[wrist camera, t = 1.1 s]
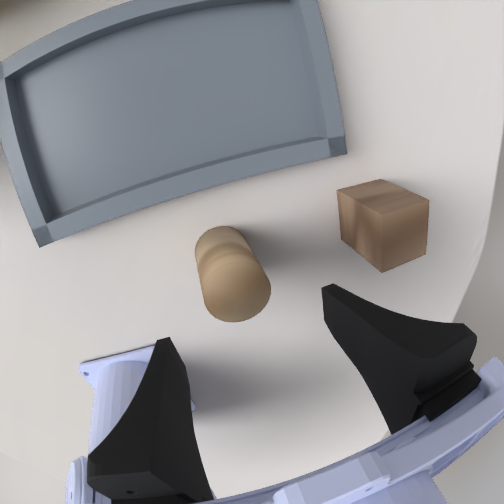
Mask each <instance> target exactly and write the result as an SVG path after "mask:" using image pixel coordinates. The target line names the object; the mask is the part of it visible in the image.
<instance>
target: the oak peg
mask: <svg viewBox="0 0 504 504" xmlns="http://www.w3.org/2000/svg"><path fill="white" fill-rule="evenodd" d="M195 257H196V262H197V268H198V273H199V278H200V283H201V288H202V293H203V298H204V303H205V306H206V308H207V310H208V311H209V312H210V314H211V315H213V316H214V317H215V318H217V319H219V320H222V321H225V322H241V321H245V320H248V319H250V318H252V317H254V316H256V315H257V314H258V313H260V312H261V311H262V310H263V308H264V307H265V306H266V304H267V303H268V301H269V298H270V294H271V285H270V282H269V279H268V277H267V276H266V274H265V272H264V271H263V269H262V267H261V266H260V264H259V262H258V260H257V259H256V257H255V255H254V254H253V252H252V250H251V248H250V247H249V245H248V243H247V242H246V240H245V238H244V237H243V235H242V234H241V233H240V232H239V231H237V230H236V229H234V228H231V227H226V226H220V227H215V228H212V229H210V230H208V231H206V232H205V233H204V234H203V235H202V236H201V237H200V238H199V240H198V242H197V244H196V248H195Z"/></svg>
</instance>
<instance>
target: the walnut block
mask: <svg viewBox="0 0 504 504" xmlns="http://www.w3.org/2000/svg"><path fill="white" fill-rule="evenodd" d="M337 198H338V208H339V219H340V230H341V240H343V241H344V242H345V243H346V244H348V245H349V246H350V247H351V248H353V249H354V250H355V251H356V252H357V253H359V254H360V255H361V256H362V257H363V258H365V259H366V260H367V261H368V262H369V263H371V264H372V265H373V266H374V267H375V268H377V269H378V270H379V271H380V272H381V273H383V272H385V271H388V270H390V269H393V268H395V267H397V266H400V265H402V264H404V263H407V262H409V261H411V260H414V259H416V258H418V257H421V256H423V255H425V254H426V246H427V233H428V214H429V200H428V199H426V198H423V197H421V196H419V195H417V194H414V193H412V192H410V191H408V190H405V189H403V188H401V187H398V186H396V185H393V184H391V183H389V182H386V181H384V180H381V179H379V180H375V181H371V182H367V183H363V184H359V185H355V186H351V187H347V188H343V189H339V190H337Z"/></svg>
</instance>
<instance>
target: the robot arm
mask: <svg viewBox="0 0 504 504" xmlns="http://www.w3.org/2000/svg"><path fill="white" fill-rule="evenodd" d="M322 299H323V311H324V321H325V323H326V324H327V326H328V328H329V330H330V332H331V333H332V335H333V337H334V338H335V340H336V341H337V342H338V344H339V345H340V346H341V348H342V349H343V350H344V352H345V353H346V354H347V356H348V357H349V358H350V360H351V361H352V362H353V364H354V365H355V366H356V368H357V369H358V371H359V372H360V374H361V375H362V377H363V379H364V380H365V382H366V384H367V386H368V387H369V389H370V391H371V393H372V395H373V397H374V399H375V400H376V402H377V404H378V406H379V408H380V410H381V412H382V415H383V417H384V419H385V421H386V423H387V425H388V428H389V430H390V432H391V434H392V435H391V436H389V437H387V438H385V439H383V440H382V441H380V442H378V443H376V444H374V445H372V446H370V447H368V448H366V449H364V450H362V451H360V452H358V453H356V454H354V455H351V456H349V457H347V458H345V459H343V460H340V461H338V462H336V463H333V464H331V465H328V466H326V467H324V468H321V469H319V470H316V471H313V472H311V473H308V474H305V475H303V476H300V477H297V478H294V479H291V480H288V481H285V482H282V483H279V484H276V485H272V486H269V487H266V488H262V489H258V490H255V491H251V492H247V493H243V494H239V495H235V496H230V497H226V498H221V499H217V498H216V496H215V495H214V493H213V491H212V490H211V488H210V486H209V483H208V480H207V477H206V474H205V471H204V468H203V464H202V461H201V457H200V453H199V450H198V446H197V442H196V437H195V433H194V427H193V419H192V411H194V410H195V405H194V403H193V402H192V400H191V398H190V387H189V381H188V377H187V372H186V367H185V365H184V363H183V361H182V359H181V358H180V356H179V354H178V352H177V350H176V348H175V346H174V344H173V343H172V341H171V339H170V337H167V338H164V339H160V340H157V342H156V344H155V346H150V347H146V348H142V349H139V350H135V351H131V352H127V353H123V354H119V355H115V356H111V357H107V358H102V359H98V360H94V361H90V362H85V363H81V364H79V366H78V370H79V371H80V373H81V374H82V375H83V376H84V378H85V379H86V380H87V381H88V383H89V384H90V385H91V386H92V387H93V389H94V390H95V394H94V402H93V410H92V418H91V428H90V439H89V453H88V458H87V457H84V456H80V457H79V458H78V459H76V460H74V461H73V462H72V463H71V465H70V468H69V472H68V477H67V485H66V494H65V504H448V502H447V501H446V499H445V498H444V496H443V495H442V493H441V491H440V490H439V488H438V487H437V485H436V484H435V482H434V481H433V479H432V478H433V477H434V476H436V475H437V474H438V473H440V472H441V471H442V470H444V469H445V468H446V467H448V466H449V465H450V464H452V463H453V462H454V461H455V460H457V459H458V458H459V457H460V456H462V455H463V454H464V453H465V452H466V451H468V450H469V449H470V448H471V447H472V446H473V445H474V444H475V443H477V442H478V441H479V440H480V439H481V438H482V437H483V436H485V434H487V433H488V432H489V431H490V430H491V429H492V428H493V427H494V426H495V425H496V424H497V423H498V422H499V421H500V420H501V419H503V418H504V364H502V362H501V361H500V360H499V359H497V358H496V356H494V357H492V358H491V359H490V360H489V361H488V362H486V363H485V364H484V365H483V366H482V367H481V368H480V369H479V370H478V371H477V372H476V373H475V372H474V370H473V367H474V365H473V364H472V363H471V362H470V359H471V356H472V354H473V351H474V349H475V346H476V343H477V336H476V334H475V333H473V332H472V331H471V330H470V329H469V328H468V327H467V326H465V324H463V323H443V322H434V321H428V320H422V319H418V318H413V317H409V316H406V315H402V314H399V313H396V312H393V311H390V310H387V309H385V308H382V307H380V306H378V305H375V304H373V303H371V302H369V301H367V300H364V299H362V298H360V297H358V296H356V295H354V294H353V293H351V292H349V291H347V290H345V289H343V288H341V287H339V286H337V285H335V284H330V285H328V286H325V287H322ZM87 372H88V373H87Z"/></svg>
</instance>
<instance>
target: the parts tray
mask: <svg viewBox="0 0 504 504" xmlns="http://www.w3.org/2000/svg"><path fill="white" fill-rule="evenodd" d="M0 139H1V143H2V147H3V150H4V154H5V157H6V161H7V164H8V167H9V171H10V174H11V177H12V180H13V183H14V186H15V189H16V192H17V194H18V197H19V200H20V202H21V205H22V208H23V210H24V213H25V215H26V218H27V220H28V223H29V225H30V227H31V230H32V232H33V234H34V237H35V239H36V241H37V243H38V246H39V248H40V247H42V246H45V245H47V244H49V243H52V242H54V241H57V240H59V239H62V238H64V237H67V236H69V235H72V234H74V233H77V232H80V231H82V230H85V229H87V228H90V227H93V226H95V225H98V224H101V223H104V222H106V221H109V220H112V219H115V218H117V217H120V216H123V215H126V214H129V213H132V212H135V211H137V210H140V209H143V208H146V207H149V206H152V205H155V204H159V203H162V202H165V201H168V200H171V199H174V198H177V197H181V196H184V195H187V194H190V193H194V192H197V191H200V190H204V189H207V188H211V187H214V186H217V185H221V184H225V183H228V182H232V181H235V180H239V179H243V178H246V177H250V176H254V175H258V174H262V173H266V172H270V171H274V170H278V169H282V168H286V167H290V166H294V165H298V164H303V163H307V162H312V161H316V160H321V159H325V158H330V157H335V156H339V155H344V154H347V150H346V142H345V135H344V128H343V121H342V115H341V108H340V102H339V97H338V91H337V86H336V80H335V75H334V70H333V65H332V60H331V56H330V51H329V47H328V42H327V38H326V34H325V30H324V26H323V22H322V18H321V14H320V10H319V7H318V3H317V0H133V1H130V2H126V3H123V4H120V5H117V6H114V7H111V8H109V9H106V10H103V11H100V12H98V13H95V14H93V15H90V16H88V17H85V18H83V19H81V20H78V21H76V22H74V23H71V24H69V25H67V26H65V27H63V28H61V29H59V30H57V31H55V32H53V33H51V34H49V35H47V36H45V37H43V38H41V39H39V40H37V41H35V42H34V43H32V44H30V45H28V46H27V47H25V48H23V49H21V50H20V51H18V52H16V53H15V54H13V55H12V56H10V57H8V58H7V59H5V60H4V61H2V62H1V63H0Z"/></svg>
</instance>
